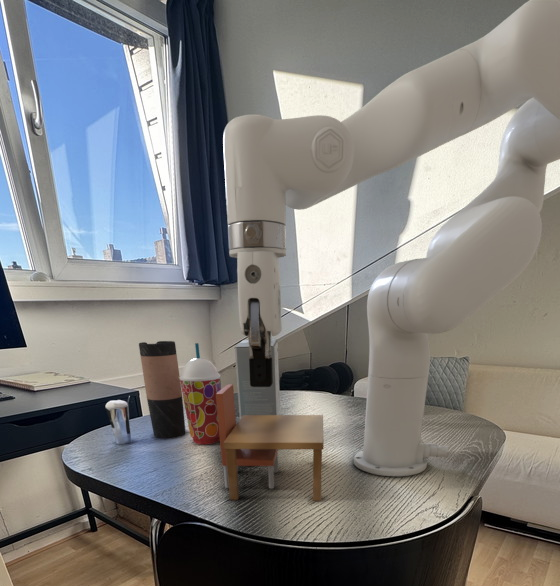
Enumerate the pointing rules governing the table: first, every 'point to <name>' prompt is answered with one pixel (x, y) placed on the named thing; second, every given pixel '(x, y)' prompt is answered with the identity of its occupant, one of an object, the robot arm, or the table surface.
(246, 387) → the hard drive box
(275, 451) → the chair
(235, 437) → the mini table
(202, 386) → the smoothie
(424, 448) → the robot arm
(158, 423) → the travel mug
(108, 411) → the milkshake
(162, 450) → the table surface
